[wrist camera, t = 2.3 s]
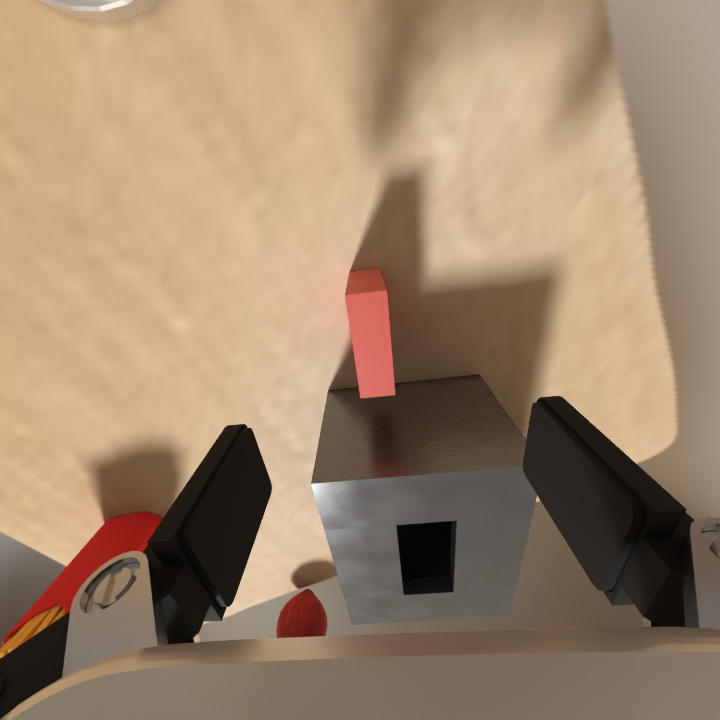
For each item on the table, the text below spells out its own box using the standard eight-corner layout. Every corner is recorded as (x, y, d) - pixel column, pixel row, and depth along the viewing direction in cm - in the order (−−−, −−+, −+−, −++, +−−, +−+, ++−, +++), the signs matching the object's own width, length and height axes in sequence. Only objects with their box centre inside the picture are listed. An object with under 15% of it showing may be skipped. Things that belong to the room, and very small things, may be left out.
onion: (277, 593, 38) (258, 681, 31) (296, 572, 36) (280, 663, 29) (316, 605, 39) (307, 692, 32) (337, 586, 37) (332, 675, 30)
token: (349, 271, 19) (345, 295, 14) (379, 267, 19) (386, 290, 14) (360, 352, 22) (360, 398, 17) (386, 349, 22) (395, 394, 16)
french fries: (160, 507, 30) (35, 692, 19) (183, 531, 32) (82, 713, 20) (86, 522, 31) (-74, 705, 20) (112, 545, 33) (-21, 723, 22)
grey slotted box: (328, 390, 23) (310, 484, 15) (479, 374, 23) (544, 464, 15) (354, 516, 31) (352, 624, 23) (469, 507, 30) (508, 616, 22)
